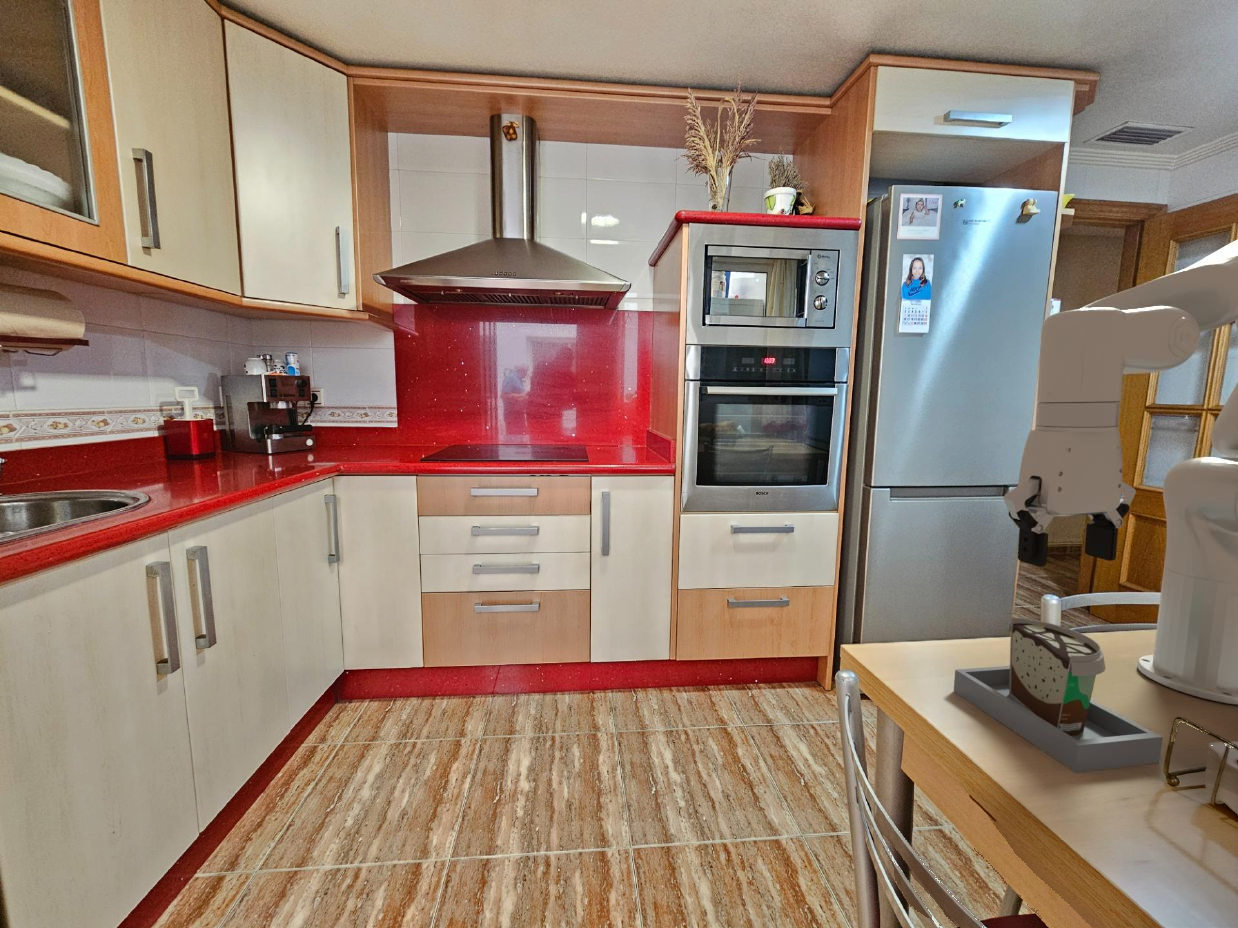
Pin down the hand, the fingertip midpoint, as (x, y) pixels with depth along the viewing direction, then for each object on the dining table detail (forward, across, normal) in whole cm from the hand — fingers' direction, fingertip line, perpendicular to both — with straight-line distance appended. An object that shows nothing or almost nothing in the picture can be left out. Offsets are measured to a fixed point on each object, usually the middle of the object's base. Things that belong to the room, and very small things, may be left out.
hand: (1065, 560), depth 66 cm
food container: (+19, +1, +2) cm, 19 cm away
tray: (+20, +3, +2) cm, 20 cm away
